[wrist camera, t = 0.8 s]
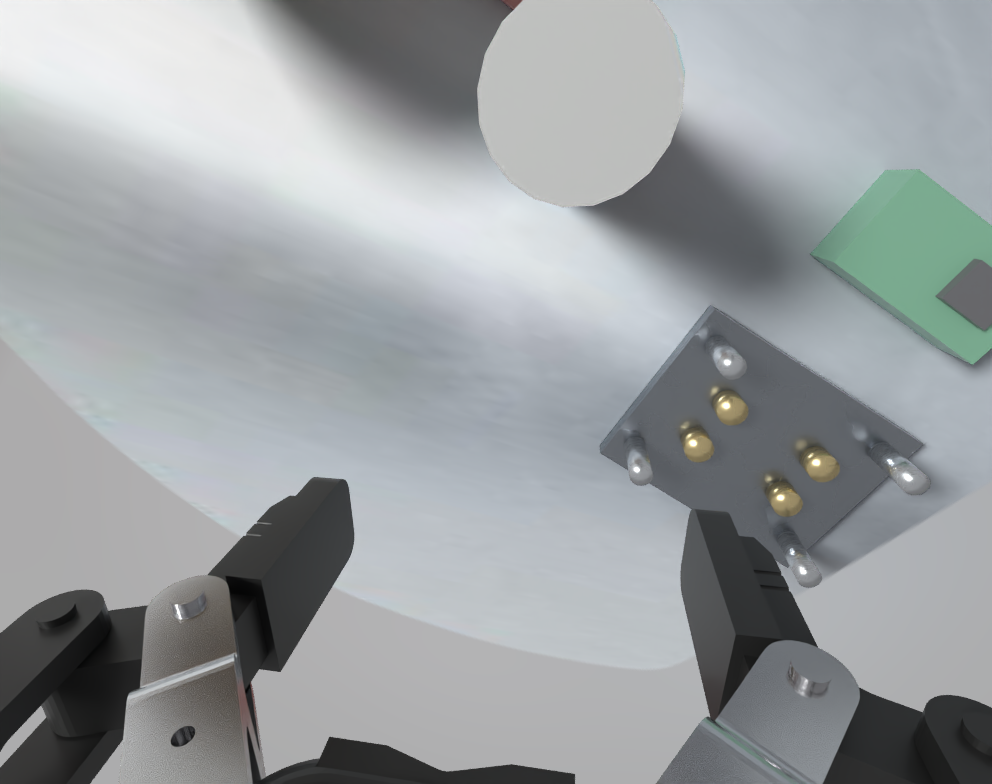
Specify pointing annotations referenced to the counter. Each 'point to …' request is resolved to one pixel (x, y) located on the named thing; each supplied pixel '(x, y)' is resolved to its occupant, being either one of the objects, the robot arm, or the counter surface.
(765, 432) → the chassis
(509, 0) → the chocolate bar
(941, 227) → the green block
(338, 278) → the counter surface
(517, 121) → the printed cylinder
